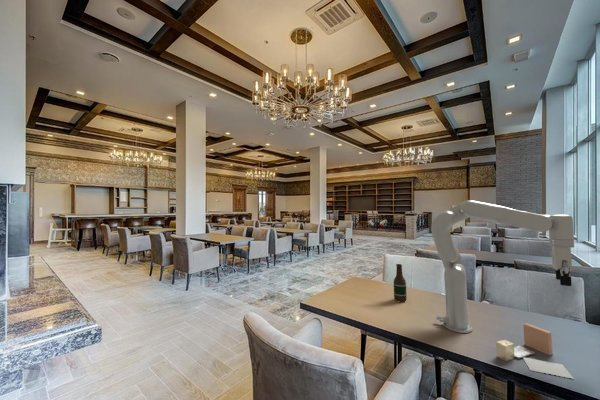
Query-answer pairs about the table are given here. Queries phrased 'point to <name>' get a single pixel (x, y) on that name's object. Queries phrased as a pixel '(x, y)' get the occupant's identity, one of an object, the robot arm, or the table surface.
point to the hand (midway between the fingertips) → (563, 282)
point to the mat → (547, 367)
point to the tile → (538, 339)
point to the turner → (511, 351)
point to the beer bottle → (399, 285)
